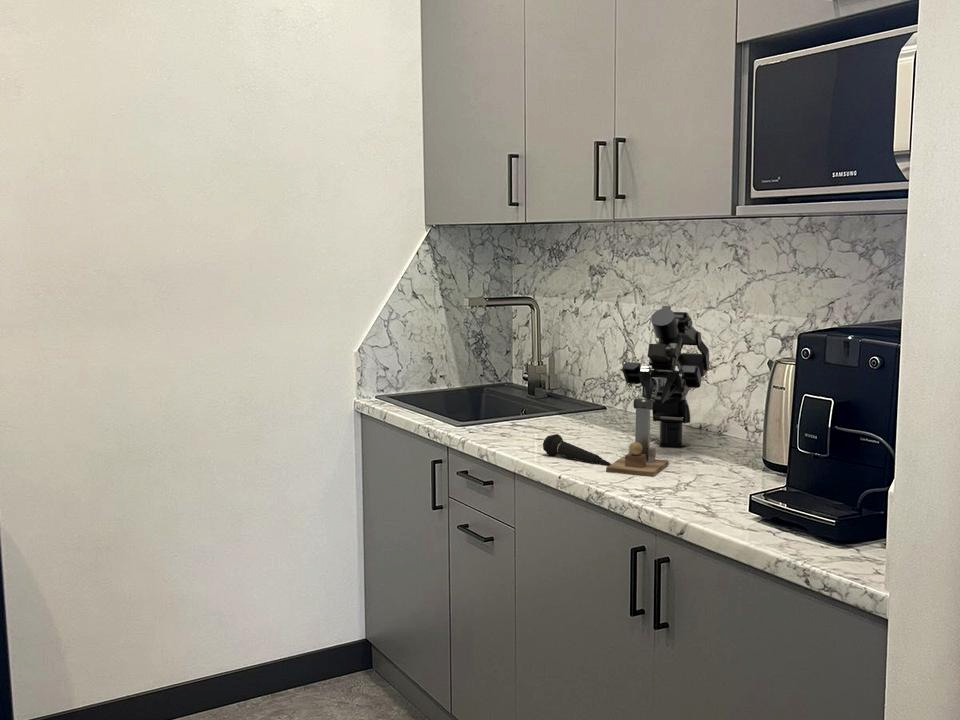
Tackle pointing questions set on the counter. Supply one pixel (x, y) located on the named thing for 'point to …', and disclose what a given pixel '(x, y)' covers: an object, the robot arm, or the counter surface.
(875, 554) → the counter surface
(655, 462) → the nutcracker base
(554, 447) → the microphone
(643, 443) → the lever
